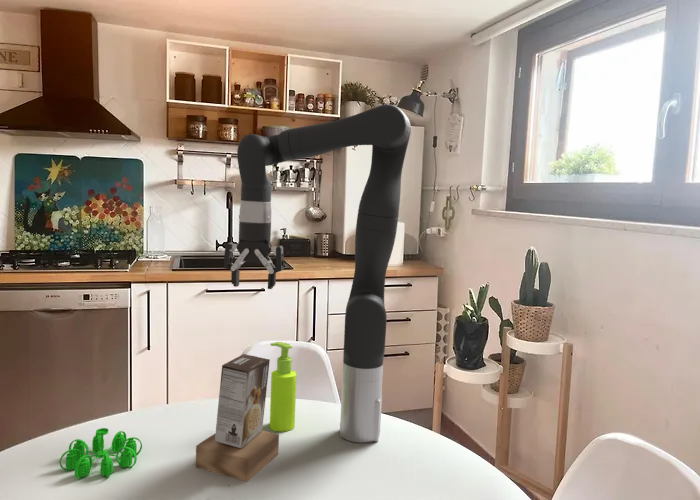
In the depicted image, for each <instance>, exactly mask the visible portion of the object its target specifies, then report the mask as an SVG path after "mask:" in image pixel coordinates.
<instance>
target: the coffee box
mask: <svg viewBox="0 0 700 500" xmlns="http://www.w3.org/2000/svg"><path fill="white" fill-rule="evenodd" d="M270 361H271V360H270V359H268V358H264V357H260V356H256V355H251V354H245V353H243V354H240V355H239V356H237V357H235V358H233V359H231V360H230V361H227V362H225V363H224V364H222V365H221V373H220V383H219V385H220V386H219V394H218V402H217V404H218V405H217V413H216V422H215V423H216V424H215V425H216V426H215V433H214V434H215V441H217V442H220V443H224V444H227V445H231V446H234V447H237V448H243V447H244V446H245V445H246V444H247V443H249V442H250V441H251V440H252V439H253V438H254V437H256V436H257V435H258V434H259V433H260V432H261V431H262V430H263V427H264V426H263V424H264V418H265V417H264V415H265V407H266V399H267V398H266V397H267V390H268V380H269V379H268V378H269V373H270V371H269V369H270Z"/></svg>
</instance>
